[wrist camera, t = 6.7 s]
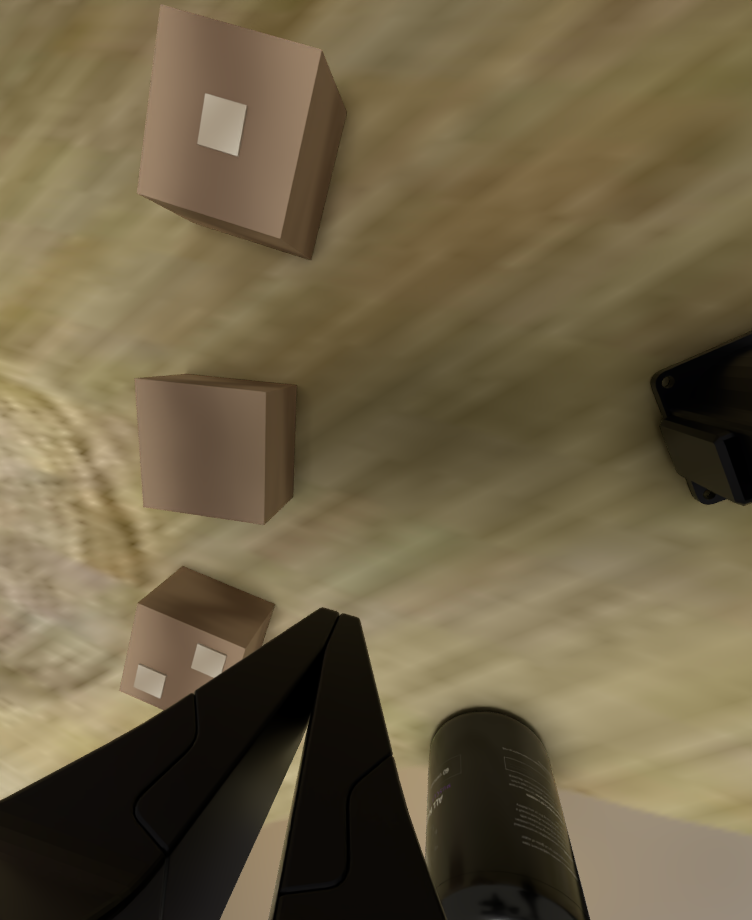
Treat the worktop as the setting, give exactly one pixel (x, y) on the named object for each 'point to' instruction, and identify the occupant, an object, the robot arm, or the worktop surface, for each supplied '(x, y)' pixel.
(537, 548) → the worktop surface
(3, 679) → the worktop surface
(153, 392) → the plain walnut block
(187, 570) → the two-pip walnut block
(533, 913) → the supplement bottle
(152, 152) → the one-pip walnut block
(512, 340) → the worktop surface
